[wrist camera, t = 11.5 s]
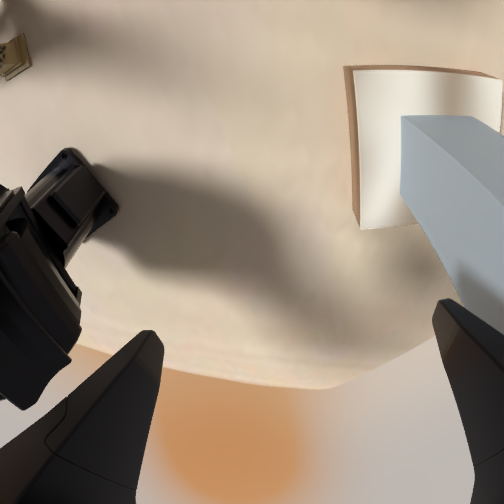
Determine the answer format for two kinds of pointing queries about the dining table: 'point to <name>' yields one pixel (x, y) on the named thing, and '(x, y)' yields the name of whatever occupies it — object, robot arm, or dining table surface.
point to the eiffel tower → (13, 57)
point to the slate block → (459, 203)
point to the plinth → (389, 126)
